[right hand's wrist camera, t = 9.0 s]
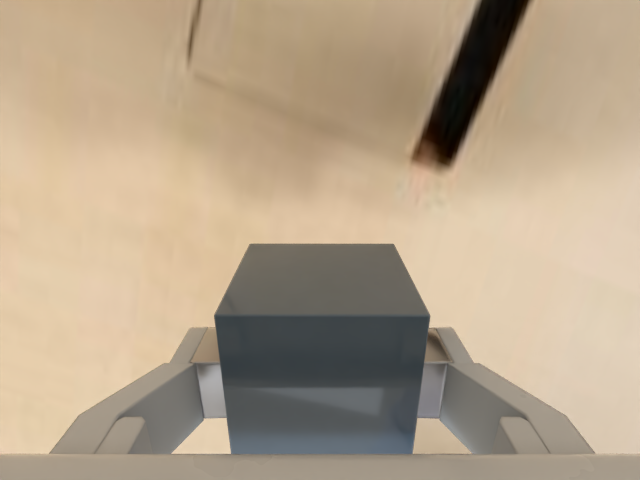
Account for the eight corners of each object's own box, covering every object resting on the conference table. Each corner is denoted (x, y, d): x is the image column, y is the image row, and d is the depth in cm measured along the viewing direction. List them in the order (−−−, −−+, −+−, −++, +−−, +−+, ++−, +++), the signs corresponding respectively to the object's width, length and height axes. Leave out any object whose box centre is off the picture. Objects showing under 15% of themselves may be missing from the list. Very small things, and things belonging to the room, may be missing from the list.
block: (394, 243, 11) (431, 315, 8) (383, 373, 13) (409, 484, 9) (249, 243, 11) (212, 315, 8) (259, 373, 13) (233, 484, 9)
